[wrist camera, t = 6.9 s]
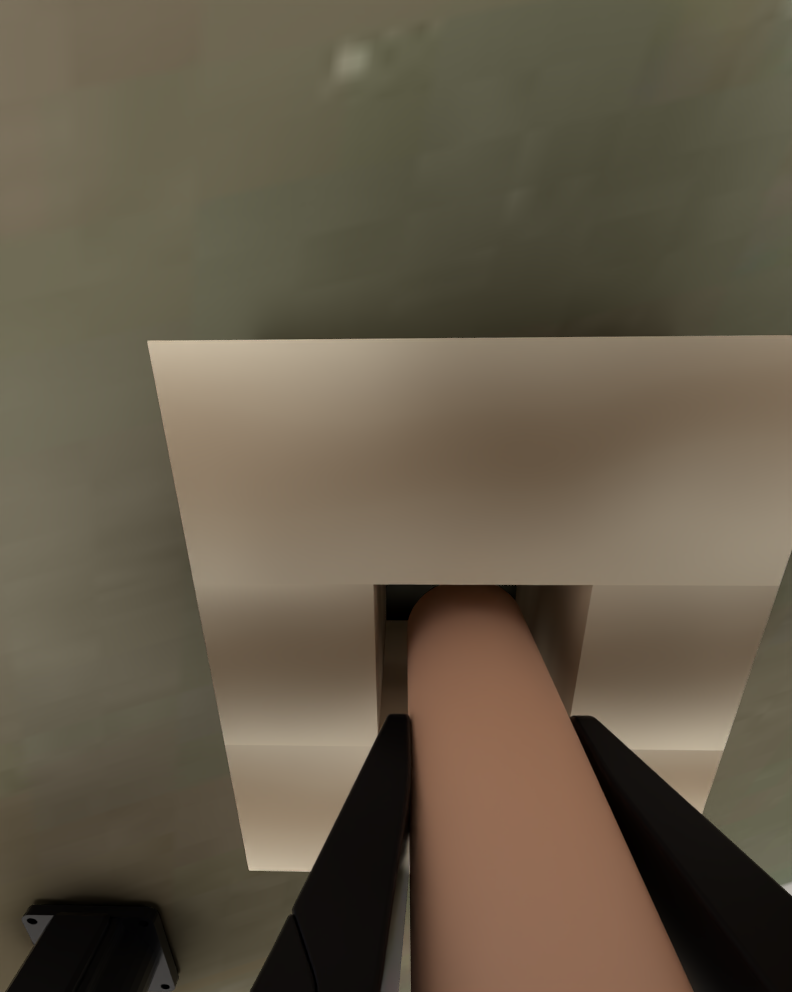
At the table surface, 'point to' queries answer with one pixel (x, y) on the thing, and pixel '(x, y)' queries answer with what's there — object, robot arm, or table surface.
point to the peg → (513, 821)
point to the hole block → (474, 536)
